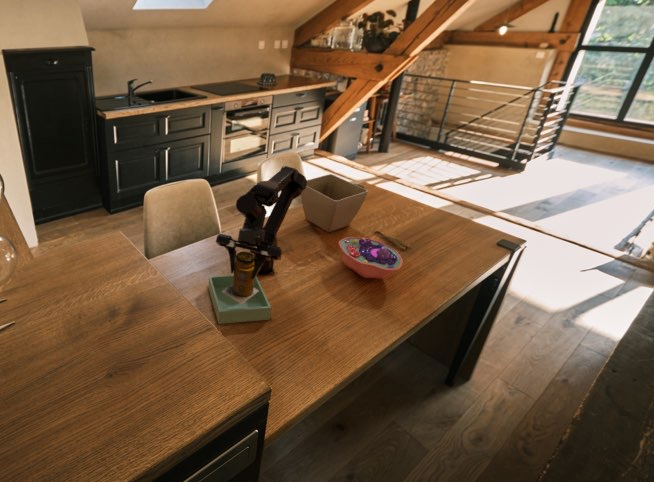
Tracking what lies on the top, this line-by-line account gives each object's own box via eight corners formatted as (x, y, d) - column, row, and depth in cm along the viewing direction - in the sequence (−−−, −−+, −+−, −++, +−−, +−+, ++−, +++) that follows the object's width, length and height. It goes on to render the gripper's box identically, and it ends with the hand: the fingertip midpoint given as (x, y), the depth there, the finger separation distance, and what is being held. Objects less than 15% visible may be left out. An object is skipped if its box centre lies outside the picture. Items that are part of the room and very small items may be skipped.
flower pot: (293, 216, 165) (298, 181, 158) (324, 206, 173) (331, 173, 166) (328, 239, 149) (335, 201, 143) (360, 227, 158) (369, 190, 151)
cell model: (347, 248, 144) (353, 222, 139) (404, 274, 131) (413, 246, 126) (325, 268, 133) (331, 241, 129) (386, 298, 120) (394, 269, 115)
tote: (253, 284, 125) (255, 273, 123) (269, 319, 111) (271, 307, 110) (208, 287, 124) (208, 276, 122) (218, 324, 110) (219, 311, 108)
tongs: (376, 231, 155) (377, 227, 154) (409, 248, 145) (410, 244, 144) (370, 235, 152) (372, 230, 152) (403, 252, 143) (405, 248, 142)
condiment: (259, 291, 113) (262, 256, 109) (241, 304, 107) (244, 268, 103) (239, 279, 118) (241, 246, 114) (221, 292, 112) (223, 257, 108)
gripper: (219, 210, 110) (205, 263, 105) (285, 223, 103) (274, 281, 99) (225, 220, 120) (213, 269, 115) (285, 233, 113) (275, 286, 108)
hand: (242, 276), depth 109 cm, fingers closed on condiment, 6 cm apart
